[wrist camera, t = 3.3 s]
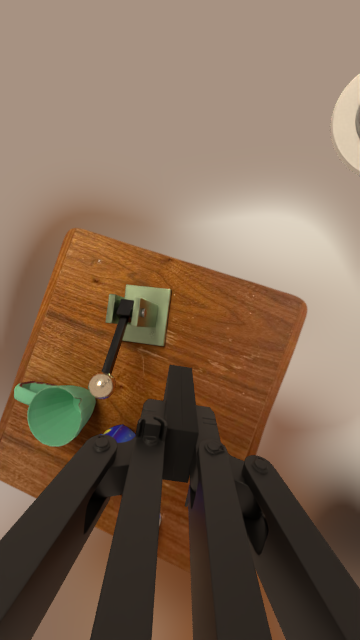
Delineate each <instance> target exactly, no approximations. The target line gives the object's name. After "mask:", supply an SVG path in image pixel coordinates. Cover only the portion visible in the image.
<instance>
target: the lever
mask: <svg viewBox="0 0 360 640" xmlns="http://www.w3.org/2000/svg"><path fill="white" fill-rule="evenodd" d="M133 305H134V300H127V299H121V301H120V303H119V306H118V309H117V312H116V315H117V317H118V318H119V322H118V325H117V328H116V331H115V334H114V337H113V340H112V343H111V346H110V348H109V351H108V354H107V357H106V360H105V363H104V366H103V369H102V372H99V373H96V374H95V375H93V376H92V377H91V379H90V381H89V384H88V389H89V392H90V394H91V395H92V396H93V397H95V398H97V399H106V398H108V397H110V396H111V395H112V394H113V393H114V391H115V388H116V381H115V378H114V377H113V376H112V375H111V373H112V370H113V367H114V364H115V361H116V358H117V355H118V352H119V349H120V346H121V342H122V339H123V336H124V333H125V330H126V327H127V324H128V322H129V323H131V320H132V312H133Z"/></svg>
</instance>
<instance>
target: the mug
mask: <svg viewBox="0 0 360 640" xmlns="http://www.w3.org/2000/svg"><path fill="white" fill-rule="evenodd" d="M14 398H15V399H16V400H18V401H20V402H22V403H24V404H27V405H29V408H28V412H27V413H28V424H29V427H30V430H31V432H32V433H33V435H34V436H35V438H36V439H38V440H39V441H40V442H41V443H43V444H46V445H48V446H62V445H65V444H68V443H69V442H70V441H72V440H73V439H74V438H75V437H76V436H77V435H78V434H79V433H80V431H81V430H82V428H83V427H84V426H85V424H86V423H87V422H88V420H89V418H90V417H91V415H92V413H93V410H94V407H95V403H96V400H95V397H93V396H92V395H91V394H90V392H89V390H88V389H85V388H82V387H78V386H70V385H66V386H57V385H54V384H48V383H41V382H35V381H30V382H24V383H20V384H18V385H17V386H16V387H15V390H14Z"/></svg>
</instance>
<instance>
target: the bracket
mask: <svg viewBox="0 0 360 640" xmlns="http://www.w3.org/2000/svg"><path fill="white" fill-rule="evenodd" d="M171 293H172V290H171V289H163V288H154V287H145V286H135V285H126V290H125V298H124V297H121V296H118V295H115V294H109V301H108V308H107V316H106V323H115V324H118V322H119V318H118V317H117V315H116V312H117V309H118V306H119V303H120V301H121V299H127V300H134V305H133V312H132V320H131V323H129V322H128V324H127V327H126V330H125V333H124V336H123V339H122V341H129V342H136V343H143V344H150V345H157V346H165V339H166V331H167V323H168V316H169V308H170V300H171Z"/></svg>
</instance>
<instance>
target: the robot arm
mask: <svg viewBox="0 0 360 640" xmlns="http://www.w3.org/2000/svg"><path fill="white" fill-rule="evenodd" d="M355 125H356V131H357V134H358V137H359V139H360V105H359V107H358V110H357V113H356V119H355ZM189 475H190V485H189V490H188V494H187V498H186V503H185V506H186V507H187V506H188V509H189V537H190V565H191V593H192V618H193V619H192V621H193V640H272V637H271V634H270V629H269V625H268V621H267V617H266V612H265V608H264V604H263V600H262V596H261V592H260V587H259V583H258V579H257V575H256V571H257V574H258V576H259V578H260V581H261V583H262V585H263V587H264V590H265V592H266V595H267V597H268V599H269V601H270V604H271V606H272V608H273V611H274V613H275V615H276V618H277V620H278V622H279V624H280V627H281V629H282V632H283V634H284V636H285V638H286V640H360V589H359V587H358V586H357V584H356V583H355V582H354V580H353V579H352V577H351V576H350V574H349V573H348V572H347V570H346V569H345V567H344V566H343V565H342V563H341V562H340V560H339V559H338V557H337V556H336V555H335V553H334V552H333V550H332V549H331V547H330V546H329V545H328V543H327V542H326V541H325V539H324V538H323V536H322V535H321V533H320V532H319V530H318V529H317V528H316V526H315V525H314V523H313V522H312V521H311V519H310V518H309V516H308V515H307V513H306V512H305V511H304V509H303V508H302V506H301V505H300V504H299V502H298V501H297V500H296V498H295V497H294V495H293V494H292V492H291V491H290V489H289V488H288V486H287V485H286V484H285V482H284V481H283V479H282V478H281V477H280V475H279V474H278V472H277V471H276V469H275V468H274V467H273V466H272V464H271V463H270V462H269V461H267V460H266V459H264V458H262V457H259V456H255V455H251V456H248V457H247V458H246V459H245V461H242V460H240V459H237V458H235V457H233V456H231V455H229V454H228V452H227V450H226V447H225V446H224V445H223V444H222V443H221V442H220V437H219V433H218V428H217V423H216V419H215V414H214V412H213V411H212V410H211V409H210V407H204V406H197V405H196V402H195V393H194V384H193V375H192V368H188V367H182V366H175V365H170V366H169V372H168V378H167V383H166V389H165V394H164V400H163V401H160V400H154V399H148V400H147V401H146V402H145V403H144V405H143V410H142V414H141V418H140V419H139V421H138V424H137V431H136V436H135V437H134V438H133V439H131V440H130V441H127V442H122V443H117V441H116V440H115V439H114V438H113V437H111V436H109V435H104V434H102V435H96V436H93V437H91V438H90V439H89V440H87V441H86V443H85V444H84V445H83V446H82V447H81V448H80V449H79V451H78V452H77V453H76V454H75V455H74V456H73V457H72V459H71V460H70V461H69V462H68V463H67V464H66V465H65V467H64V468H63V469H62V470H61V471H60V472H59V474H58V475H57V476H56V477H55V478H54V479H53V480H52V482H51V483H50V484H49V485H48V486H47V487H46V488H45V490H44V491H43V492H42V493H41V494H40V495H39V497H38V498H37V499H36V500H35V501H34V502H33V503H32V505H31V506H30V507H29V508H28V509H27V510H26V511H25V513H24V514H23V515H22V516H21V517H20V518H19V519H18V521H17V522H16V523H15V524H14V525H13V526H12V528H11V529H10V530H9V531H8V532H7V533H6V535H5V536H4V537H3V538H2V539H1V540H0V640H31V639H32V637H33V635H34V633H35V631H36V630H37V628H38V626H39V624H40V623H41V620H42V619H43V617H44V616H45V614H46V612H47V610H48V608H49V607H50V605H51V603H52V601H53V600H54V598H55V596H56V594H57V592H58V591H59V589H60V587H61V585H62V584H63V582H64V580H65V578H66V576H67V574H68V573H69V571H70V569H71V567H72V565H73V564H74V562H75V560H76V558H77V557H78V555H79V553H80V551H81V550H82V548H83V546H84V544H85V543H86V541H87V539H88V537H89V535H90V534H91V532H92V530H93V528H94V526H95V525H96V523H97V521H98V519H99V518H100V516H101V514H102V512H103V510H104V509H105V507H106V505H107V503H108V502H109V499H110V496H116V495H122V494H123V495H122V500H121V504H120V509H119V513H118V517H117V522H116V526H115V531H114V535H113V540H112V545H111V549H110V553H109V558H108V562H107V566H106V571H105V576H104V580H103V584H102V589H101V593H100V598H99V602H98V607H97V611H96V616H95V621H94V624H93V629H92V634H91V638H90V640H151V637H152V623H153V608H154V593H155V578H156V564H157V549H158V534H159V519H160V504H161V490H162V479H165V480H172V481H179V482H186V483H188V479H189ZM255 569H256V570H255Z"/></svg>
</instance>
